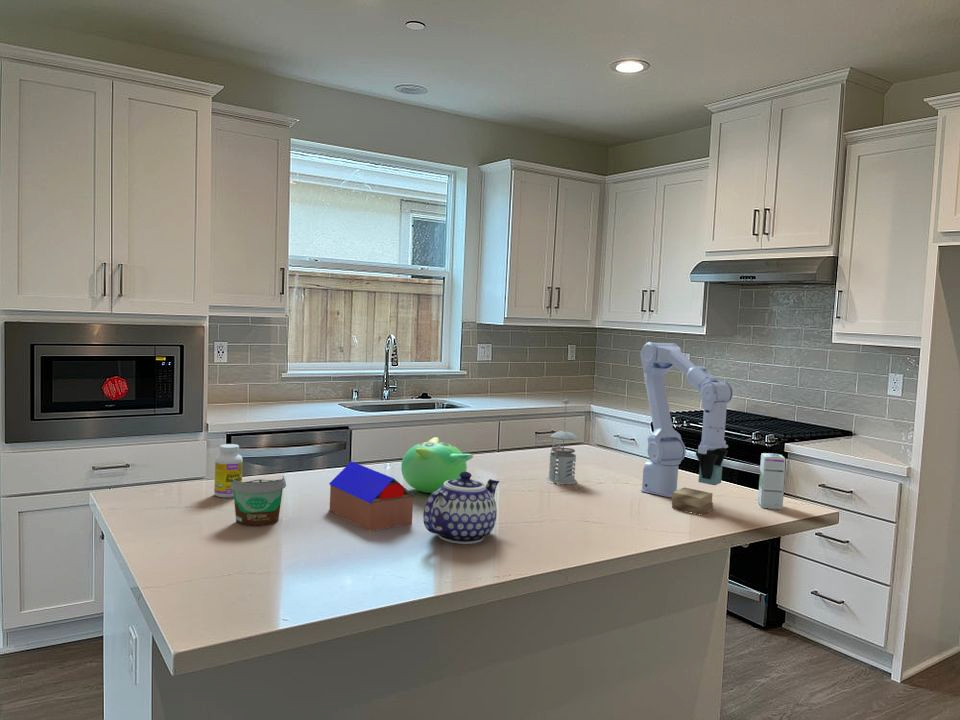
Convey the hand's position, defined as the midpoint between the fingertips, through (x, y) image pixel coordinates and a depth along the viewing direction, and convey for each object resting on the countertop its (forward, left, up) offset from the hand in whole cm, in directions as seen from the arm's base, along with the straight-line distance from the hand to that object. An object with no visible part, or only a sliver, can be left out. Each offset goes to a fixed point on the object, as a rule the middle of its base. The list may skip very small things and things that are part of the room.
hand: (709, 477), depth 194 cm
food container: (-66, -94, -9) cm, 116 cm away
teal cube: (0, 0, -2) cm, 2 cm away
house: (-54, -72, -9) cm, 91 cm away
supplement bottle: (-92, -86, -9) cm, 127 cm away
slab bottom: (-3, -2, -10) cm, 10 cm away
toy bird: (-60, -43, -9) cm, 75 cm away
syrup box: (+11, +18, -9) cm, 23 cm away
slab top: (-4, -2, -7) cm, 8 cm away
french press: (-44, -4, -9) cm, 45 cm away
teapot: (-29, -67, -9) cm, 74 cm away
